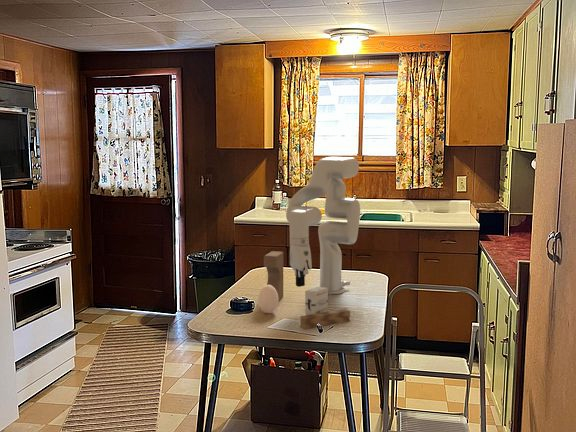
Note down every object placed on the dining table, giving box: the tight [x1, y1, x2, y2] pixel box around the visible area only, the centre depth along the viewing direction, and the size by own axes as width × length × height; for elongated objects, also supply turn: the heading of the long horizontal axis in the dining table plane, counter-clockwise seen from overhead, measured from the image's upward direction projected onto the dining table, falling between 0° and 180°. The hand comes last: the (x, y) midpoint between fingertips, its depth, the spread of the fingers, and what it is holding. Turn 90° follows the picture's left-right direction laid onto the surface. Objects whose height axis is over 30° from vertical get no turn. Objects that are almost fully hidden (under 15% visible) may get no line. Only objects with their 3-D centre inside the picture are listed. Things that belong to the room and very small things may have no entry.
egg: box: [257, 284, 280, 314], centre depth 237 cm, size 8×8×11 cm
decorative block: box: [263, 250, 284, 301], centre depth 256 cm, size 11×6×20 cm, turn 163°
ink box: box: [304, 286, 329, 316], centre depth 230 cm, size 8×5×12 cm, turn 141°
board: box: [299, 308, 351, 330], centre depth 224 cm, size 20×3×4 cm, turn 120°
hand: (300, 285), depth 241 cm, fingers closed
